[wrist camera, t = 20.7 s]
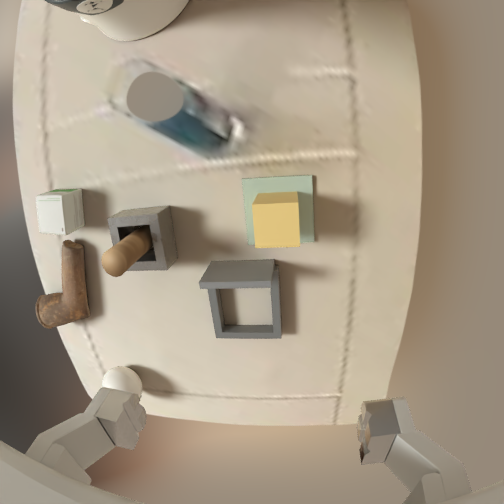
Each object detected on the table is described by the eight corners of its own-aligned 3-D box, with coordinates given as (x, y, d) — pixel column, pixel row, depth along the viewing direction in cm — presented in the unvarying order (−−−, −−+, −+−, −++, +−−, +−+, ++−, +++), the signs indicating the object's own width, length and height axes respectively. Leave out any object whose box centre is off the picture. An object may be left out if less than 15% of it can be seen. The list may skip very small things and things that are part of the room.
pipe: (74, 252, 37) (20, 242, 36) (85, 346, 43) (36, 332, 42) (93, 235, 43) (41, 227, 42) (98, 324, 49) (51, 312, 48)
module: (258, 193, 36) (251, 204, 30) (297, 191, 35) (298, 202, 30) (260, 230, 38) (255, 248, 32) (298, 228, 37) (300, 246, 31)
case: (207, 261, 40) (194, 282, 35) (278, 259, 39) (275, 280, 34) (218, 330, 44) (209, 357, 39) (281, 330, 43) (279, 358, 37)
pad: (242, 178, 36) (241, 179, 36) (311, 175, 35) (311, 175, 34) (248, 243, 39) (248, 244, 38) (314, 241, 38) (314, 242, 37)
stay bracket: (122, 210, 39) (107, 218, 35) (169, 205, 38) (157, 213, 34) (132, 259, 42) (119, 270, 38) (178, 257, 41) (167, 270, 37)
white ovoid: (108, 354, 50) (89, 380, 43) (144, 362, 49) (127, 391, 42) (120, 392, 53) (105, 417, 46) (154, 400, 52) (140, 428, 46)
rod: (138, 224, 40) (98, 251, 30) (158, 222, 39) (121, 249, 30) (142, 245, 41) (105, 277, 31) (162, 243, 40) (128, 276, 31)
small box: (82, 187, 39) (61, 195, 34) (86, 226, 41) (66, 237, 36) (54, 188, 39) (33, 195, 35) (58, 224, 41) (38, 234, 37)
